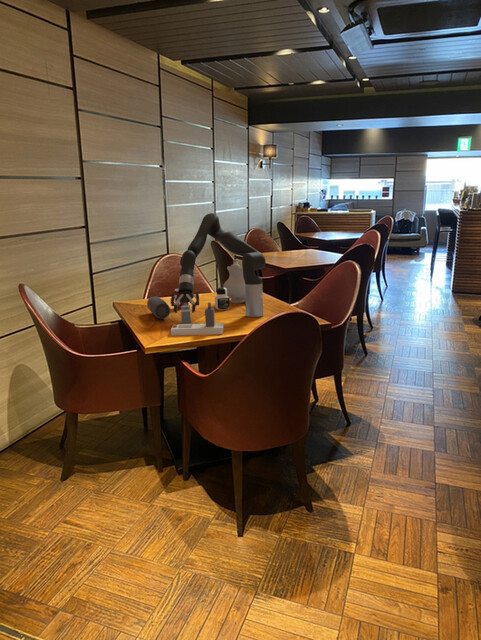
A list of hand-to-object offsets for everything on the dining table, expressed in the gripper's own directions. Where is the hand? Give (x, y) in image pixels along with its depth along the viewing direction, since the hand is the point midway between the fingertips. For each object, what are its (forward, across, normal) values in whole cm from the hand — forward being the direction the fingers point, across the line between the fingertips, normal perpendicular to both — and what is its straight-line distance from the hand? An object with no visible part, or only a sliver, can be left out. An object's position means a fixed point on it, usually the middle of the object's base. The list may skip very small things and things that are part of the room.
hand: (184, 312), depth 241 cm
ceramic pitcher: (-34, -25, -46) cm, 63 cm away
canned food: (-24, +8, -35) cm, 43 cm away
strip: (+15, -8, +7) cm, 18 cm away
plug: (+6, -1, -3) cm, 7 cm away
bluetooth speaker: (-9, +17, -19) cm, 28 cm away
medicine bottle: (-20, -16, -31) cm, 40 cm away
